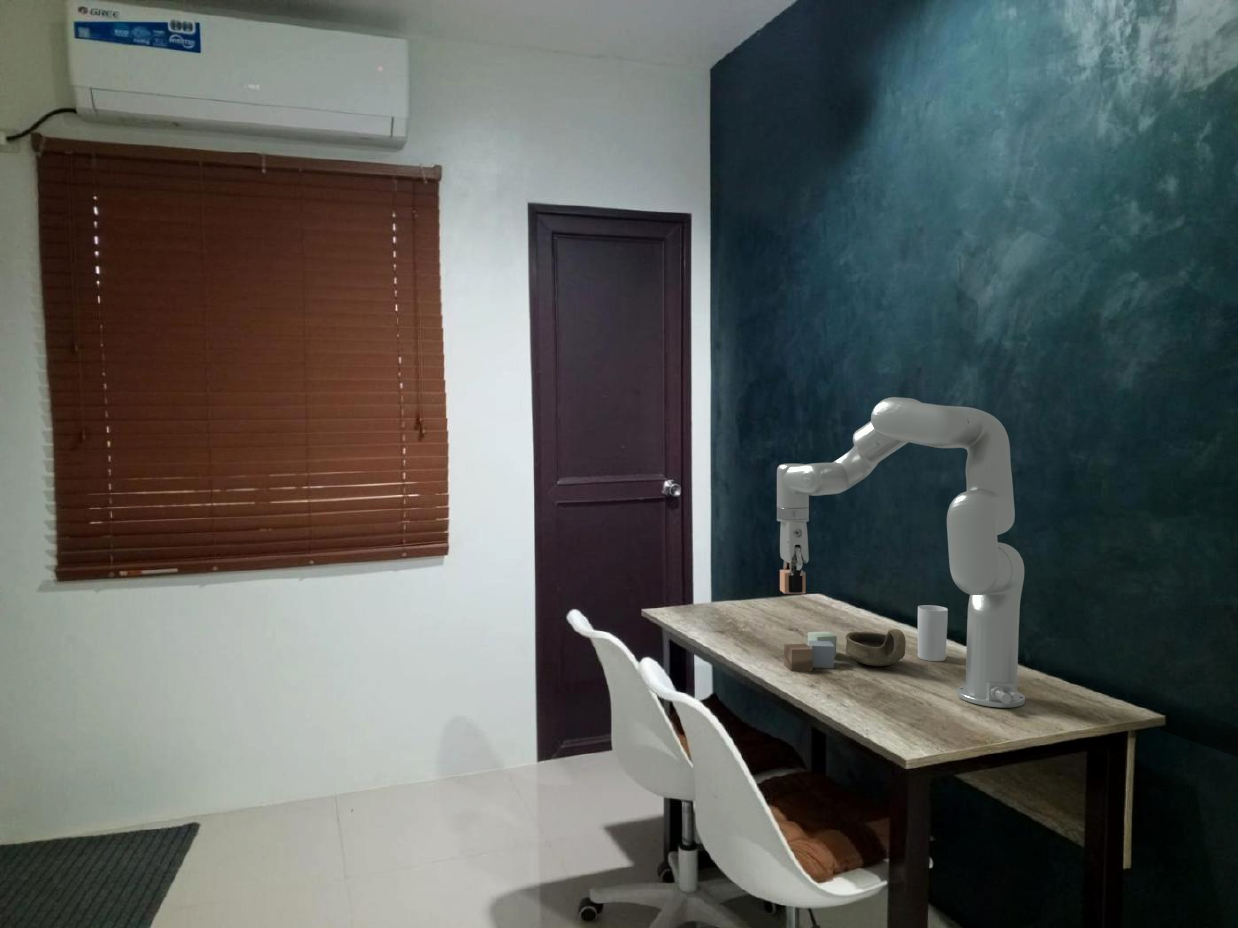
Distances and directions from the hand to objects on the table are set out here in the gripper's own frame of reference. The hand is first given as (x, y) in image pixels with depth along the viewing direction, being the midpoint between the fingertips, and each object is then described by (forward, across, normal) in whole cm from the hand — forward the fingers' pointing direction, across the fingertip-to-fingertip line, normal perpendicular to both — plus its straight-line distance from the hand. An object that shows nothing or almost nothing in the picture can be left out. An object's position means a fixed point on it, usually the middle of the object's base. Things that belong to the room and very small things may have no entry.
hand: (792, 589), depth 208 cm
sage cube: (+16, -1, -7) cm, 17 cm away
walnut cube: (+16, -13, +2) cm, 20 cm away
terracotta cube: (+1, 0, 0) cm, 1 cm away
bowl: (+16, -11, -17) cm, 26 cm away
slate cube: (+16, -10, -4) cm, 19 cm away
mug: (+16, -2, -32) cm, 36 cm away
